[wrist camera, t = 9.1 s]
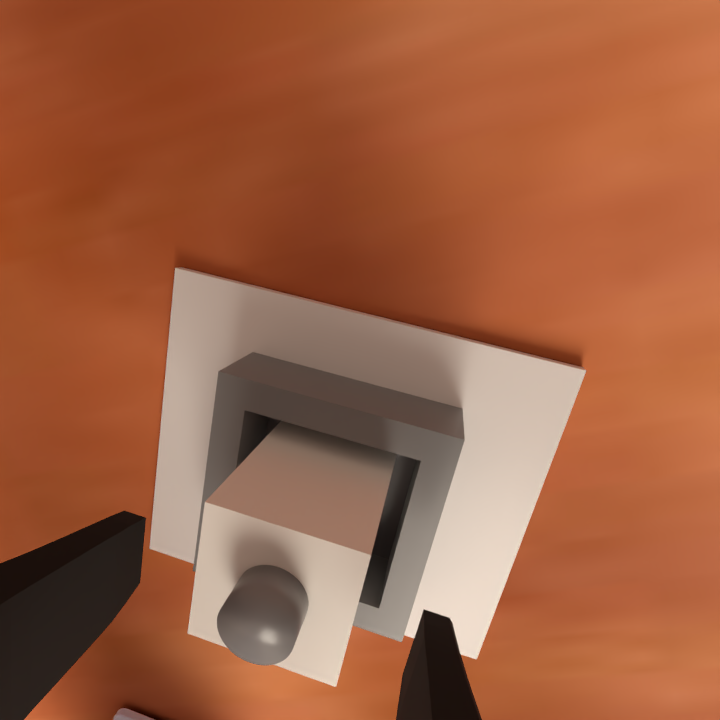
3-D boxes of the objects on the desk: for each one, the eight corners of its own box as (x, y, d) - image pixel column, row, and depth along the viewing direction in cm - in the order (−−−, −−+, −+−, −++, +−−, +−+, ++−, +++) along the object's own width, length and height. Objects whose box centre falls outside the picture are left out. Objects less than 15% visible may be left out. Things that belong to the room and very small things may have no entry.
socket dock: (476, 650, 18) (480, 725, 15) (155, 542, 20) (106, 592, 17) (582, 367, 14) (613, 397, 12) (181, 267, 16) (126, 272, 13)
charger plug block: (374, 535, 17) (325, 728, 10) (274, 504, 17) (164, 668, 11) (400, 440, 16) (362, 588, 9) (291, 409, 16) (180, 527, 10)
